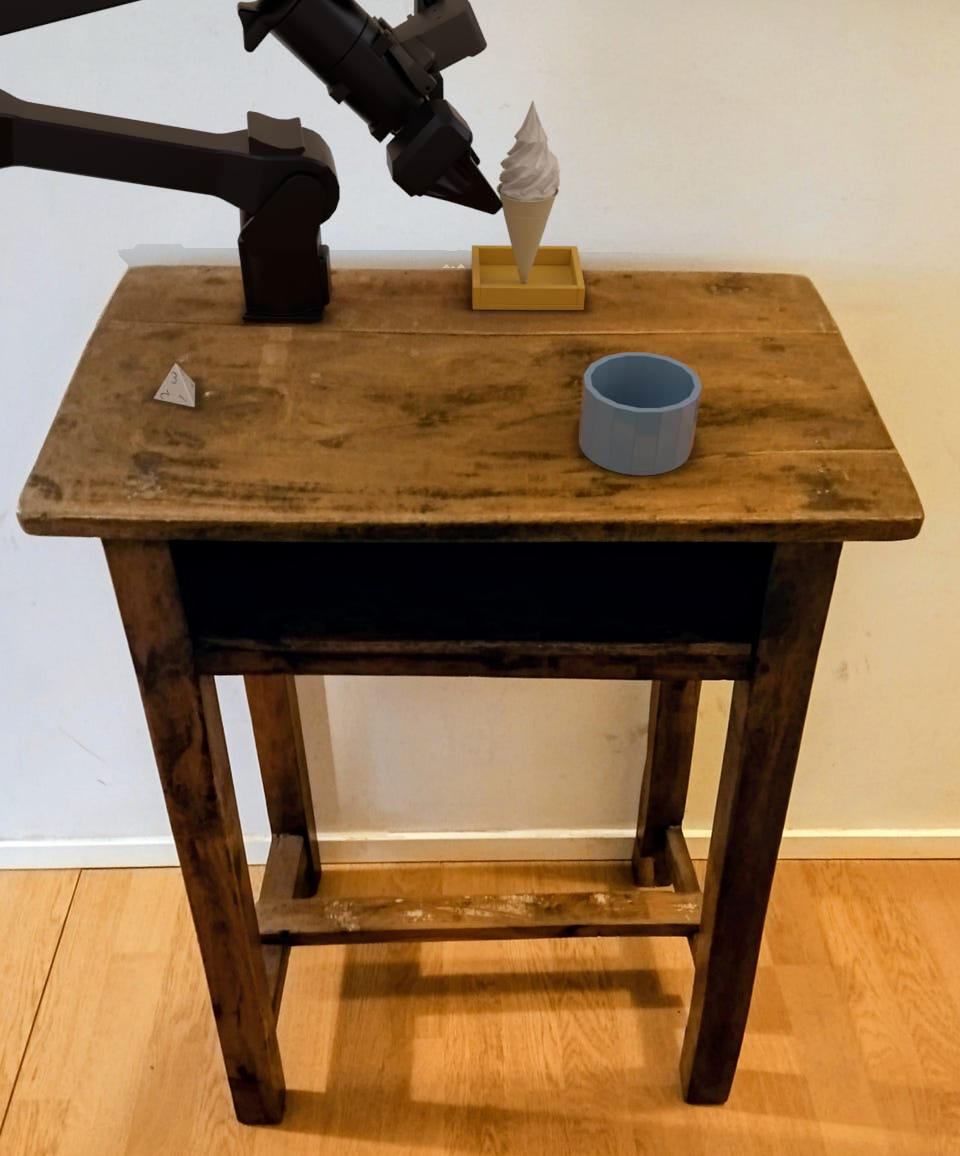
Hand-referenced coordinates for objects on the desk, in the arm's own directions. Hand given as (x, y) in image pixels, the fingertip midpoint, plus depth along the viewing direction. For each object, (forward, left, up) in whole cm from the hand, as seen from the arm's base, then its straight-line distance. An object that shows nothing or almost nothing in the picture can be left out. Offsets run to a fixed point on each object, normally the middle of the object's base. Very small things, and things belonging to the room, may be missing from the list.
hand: (487, 187), depth 92 cm
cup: (+10, -23, -9) cm, 27 cm away
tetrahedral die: (-22, -17, -9) cm, 30 cm away
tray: (+4, +1, -9) cm, 10 cm away
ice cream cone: (+3, +1, -9) cm, 9 cm away
